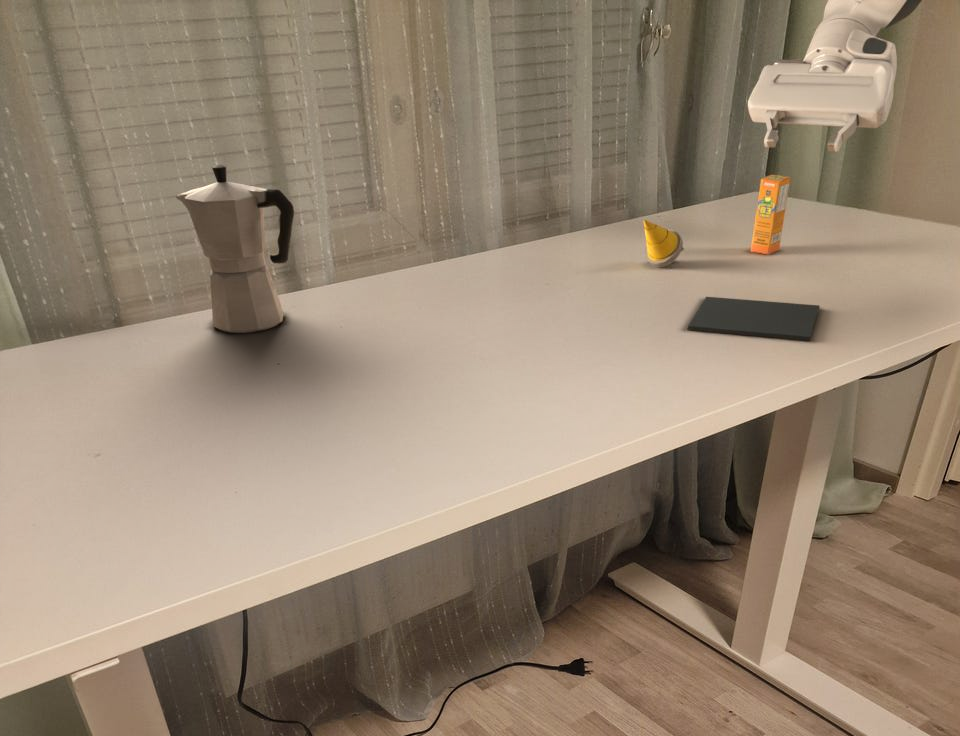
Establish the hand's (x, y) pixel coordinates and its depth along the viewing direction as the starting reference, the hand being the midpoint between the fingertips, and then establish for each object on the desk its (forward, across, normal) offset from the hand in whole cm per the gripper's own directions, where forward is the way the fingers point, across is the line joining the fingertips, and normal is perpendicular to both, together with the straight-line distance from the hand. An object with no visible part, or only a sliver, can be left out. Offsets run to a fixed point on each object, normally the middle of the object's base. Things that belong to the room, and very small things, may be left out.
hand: (800, 146), depth 127 cm
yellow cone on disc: (+26, -10, -8) cm, 28 cm away
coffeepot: (+59, -44, -41) cm, 84 cm away
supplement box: (+15, 0, +3) cm, 16 cm away
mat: (+37, +10, -19) cm, 43 cm away
